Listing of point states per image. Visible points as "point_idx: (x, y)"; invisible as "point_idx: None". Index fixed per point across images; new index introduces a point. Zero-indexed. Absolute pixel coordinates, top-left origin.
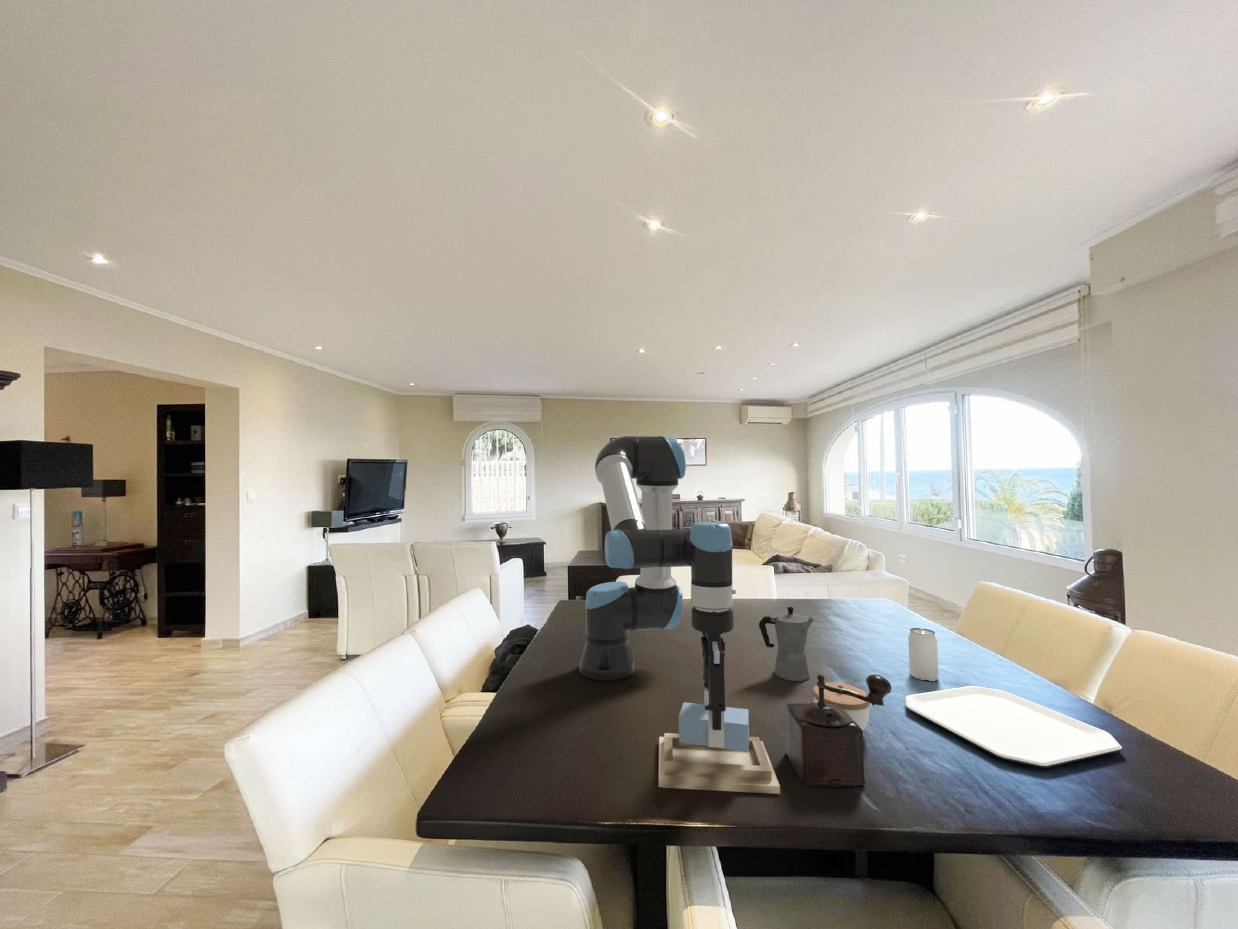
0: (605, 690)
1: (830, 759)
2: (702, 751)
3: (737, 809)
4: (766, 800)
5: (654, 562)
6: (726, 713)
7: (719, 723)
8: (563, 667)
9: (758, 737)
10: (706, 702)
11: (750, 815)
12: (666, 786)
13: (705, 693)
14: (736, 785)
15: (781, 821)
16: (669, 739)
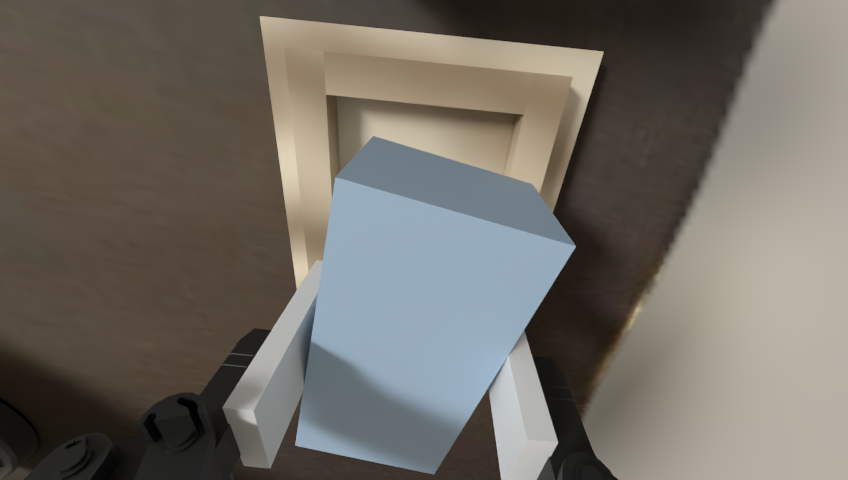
0: (81, 420)
1: None
2: None
3: (621, 217)
4: (608, 118)
5: None
6: (406, 323)
7: (568, 399)
8: (12, 477)
9: (288, 49)
10: (298, 392)
11: (657, 189)
12: None
13: (276, 447)
14: (553, 209)
15: (720, 100)
16: None
